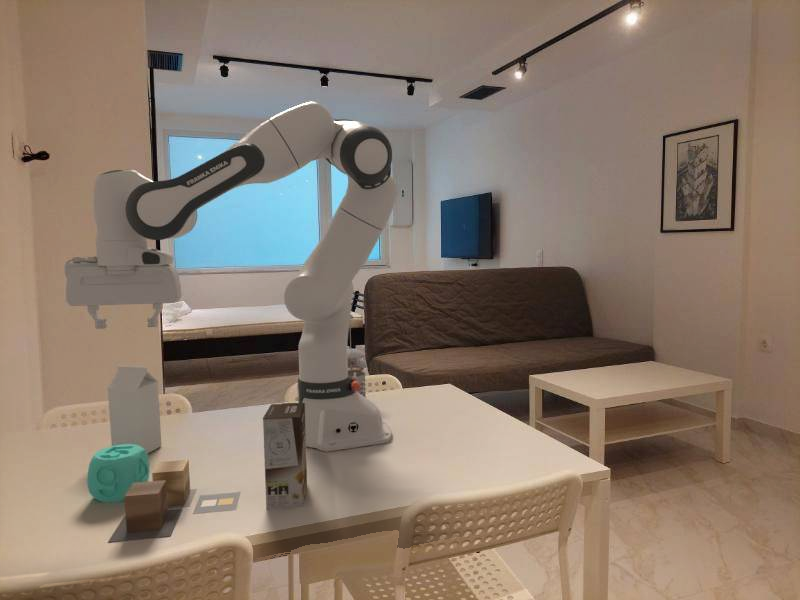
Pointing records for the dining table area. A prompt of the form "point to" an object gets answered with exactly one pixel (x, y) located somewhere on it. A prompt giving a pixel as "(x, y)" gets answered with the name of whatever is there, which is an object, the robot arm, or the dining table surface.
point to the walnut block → (146, 506)
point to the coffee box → (285, 455)
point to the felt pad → (165, 531)
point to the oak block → (174, 480)
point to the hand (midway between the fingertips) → (127, 327)
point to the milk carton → (134, 408)
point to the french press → (358, 369)
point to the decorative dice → (117, 471)
